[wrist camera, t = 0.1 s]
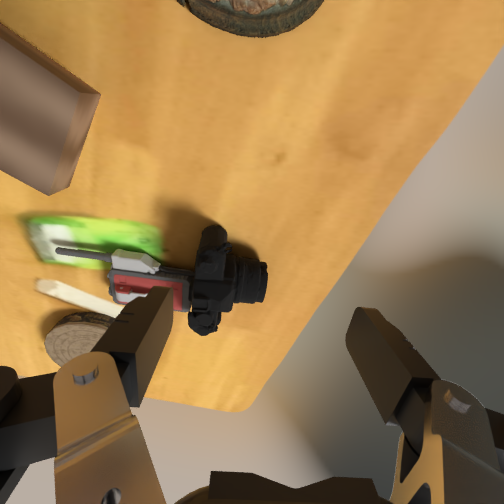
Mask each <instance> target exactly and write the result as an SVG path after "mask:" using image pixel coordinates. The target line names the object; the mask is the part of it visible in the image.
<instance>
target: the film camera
mask: <svg viewBox="0 0 504 504" xmlns="http://www.w3.org/2000/svg"><path fill="white" fill-rule="evenodd" d="M226 247H231V250H227V249H226ZM231 251H232V244H230V243H227V232H226V230H225V229H223V228H222V227H221V226H214V225H211V226H209V227H207V228H205V229H204V230H203V231H202V237H201V241H200V245H199V249H198V250H197V255H196V263H195V274H194V280H192V281H191V282H190V285H189V296H188V300H189V301H191V303H192V312H190V311H189V313H188V325H189V327H190V328H191V329H192V330H193V331H194V332H196V333H198V334H199V335H201V336H206V335H208V334H209V333H212V332H216V331H217V329H218V326H217V325H219V323H220V321H221V312H230V311H231V310H232V306H233V302H234V303H239V302H241V303H251V304H254V303H255V302H260V303H262V302H263V300H264V297H265V294H266V288H267V280H268V273H267V265H266V262H260V261H259V260H257V259H248V258H244V257H235V255H233V254H227V253H228V252H231Z"/></svg>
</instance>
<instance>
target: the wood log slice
mask: <svg viewBox="0 0 504 504" xmlns="http://www.w3.org/2000/svg"><path fill="white" fill-rule="evenodd" d="M115 319H116V318H113V317H111V316H108V315H105V314H99V313H93V312H81V313H74V314H71V315H68V316H65V317H64V318H63V319H62V320H61V321H59V322H58V323H57V324H56V325H55V327H54V328H53V329H52V330H51V331H50V332H49V333H48V334H47V336H46V339H45V343H44V344H45V348H46V352H47V353H48V355H49V356H50V357H51V359H52V360H53V361H54V362H55V363H57V364H58V365H59V366H60V367H62V366H63V365H64V364H65V363H67V362H68V361H70V360H71V359H73V358H75V357H77V356H79V355H82V354H85V353H89V352H90V351H91V350H92V349H93V347H94V346H95V345H96V343H97V342H98V341H99V339H100V338H101V337H102V336H103V334H104V333H105V332H106V330H107V329H108V328H109V326H110V325H111V324H112V323H113V322H114V321H115Z"/></svg>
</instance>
